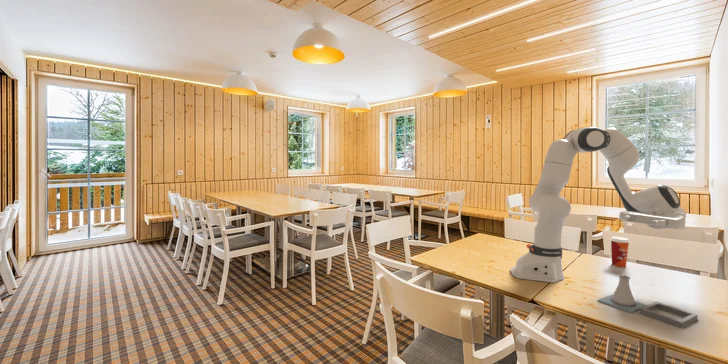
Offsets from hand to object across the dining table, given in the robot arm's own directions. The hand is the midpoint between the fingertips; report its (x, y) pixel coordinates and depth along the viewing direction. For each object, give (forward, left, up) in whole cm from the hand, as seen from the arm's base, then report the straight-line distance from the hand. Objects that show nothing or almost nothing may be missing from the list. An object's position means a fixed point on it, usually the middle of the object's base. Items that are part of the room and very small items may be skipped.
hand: (640, 221), depth 130 cm
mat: (-11, -12, -30) cm, 34 cm away
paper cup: (+11, +37, -30) cm, 48 cm away
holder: (-1, -20, -30) cm, 36 cm away
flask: (-11, -12, -29) cm, 34 cm away
